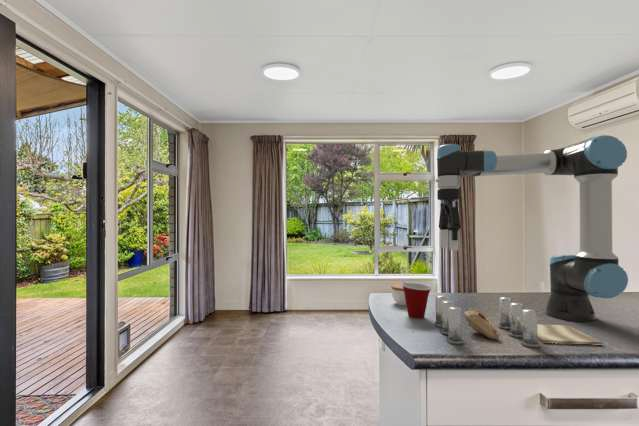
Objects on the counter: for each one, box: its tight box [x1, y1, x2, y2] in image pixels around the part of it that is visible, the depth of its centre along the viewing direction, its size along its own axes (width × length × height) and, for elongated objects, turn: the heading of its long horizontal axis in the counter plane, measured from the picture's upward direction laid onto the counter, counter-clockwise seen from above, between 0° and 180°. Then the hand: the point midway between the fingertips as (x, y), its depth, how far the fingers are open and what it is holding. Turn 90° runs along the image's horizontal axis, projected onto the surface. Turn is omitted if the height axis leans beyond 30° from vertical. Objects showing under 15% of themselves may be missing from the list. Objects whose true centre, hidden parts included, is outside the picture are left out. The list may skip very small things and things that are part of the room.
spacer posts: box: [434, 294, 540, 349], centre depth 106 cm, size 25×20×10 cm
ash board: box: [537, 323, 603, 345], centre depth 105 cm, size 16×16×1 cm
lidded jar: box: [390, 281, 406, 306], centre depth 146 cm, size 11×11×9 cm
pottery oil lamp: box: [463, 308, 500, 341], centre depth 106 cm, size 9×12×7 cm
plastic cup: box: [401, 282, 432, 320], centre depth 126 cm, size 11×11×12 cm
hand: (448, 248), depth 118 cm, fingers open, 13 cm apart
